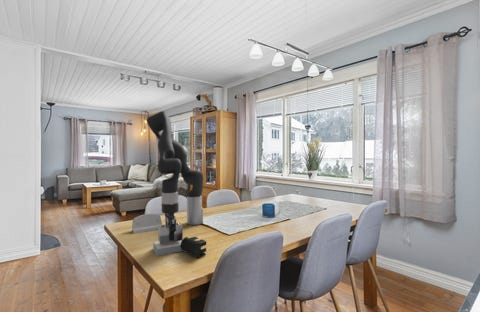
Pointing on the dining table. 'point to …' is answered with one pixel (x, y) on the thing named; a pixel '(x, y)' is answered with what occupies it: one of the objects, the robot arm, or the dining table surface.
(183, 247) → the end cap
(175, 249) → the stand
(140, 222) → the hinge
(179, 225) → the housing
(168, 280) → the dining table surface
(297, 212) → the dining table surface
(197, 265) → the dining table surface
